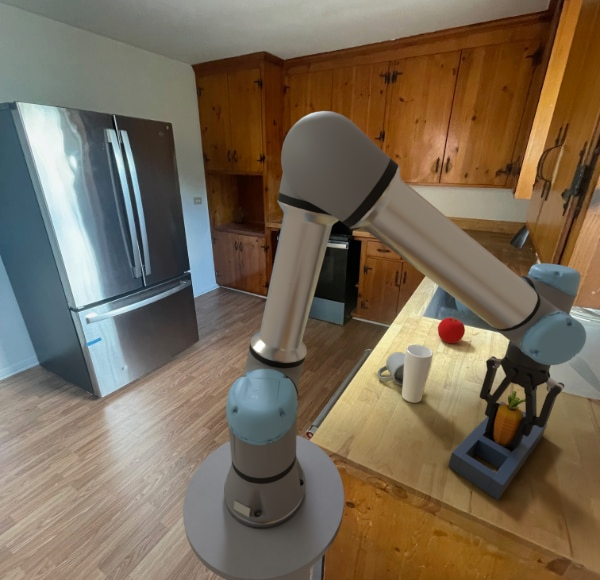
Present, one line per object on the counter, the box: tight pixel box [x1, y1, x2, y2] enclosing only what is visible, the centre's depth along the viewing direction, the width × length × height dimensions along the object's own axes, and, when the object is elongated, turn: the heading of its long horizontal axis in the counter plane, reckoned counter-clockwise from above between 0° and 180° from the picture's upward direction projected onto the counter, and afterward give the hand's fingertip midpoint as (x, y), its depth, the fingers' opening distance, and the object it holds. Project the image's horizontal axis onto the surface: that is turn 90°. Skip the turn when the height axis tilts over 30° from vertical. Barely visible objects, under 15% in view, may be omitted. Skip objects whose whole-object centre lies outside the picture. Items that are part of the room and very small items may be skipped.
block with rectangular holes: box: [448, 401, 548, 501], centre depth 74 cm, size 10×26×4 cm, turn 130°
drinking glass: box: [401, 344, 434, 404], centre depth 88 cm, size 7×7×15 cm
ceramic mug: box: [376, 351, 405, 387], centre depth 98 cm, size 11×8×8 cm
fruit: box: [437, 315, 466, 344], centre depth 120 cm, size 9×9×10 cm
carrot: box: [493, 390, 525, 448], centre depth 71 cm, size 5×5×15 cm
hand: (502, 435), depth 73 cm, fingers closed on carrot, 5 cm apart
